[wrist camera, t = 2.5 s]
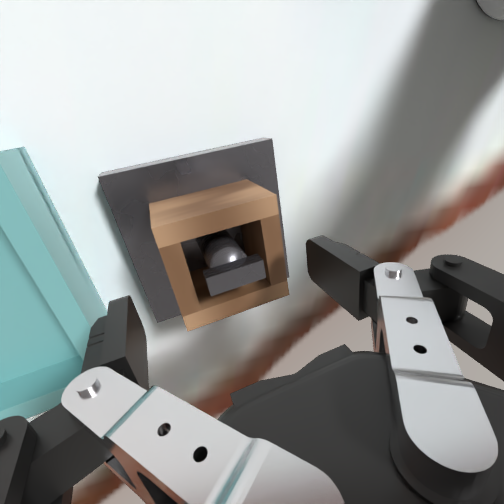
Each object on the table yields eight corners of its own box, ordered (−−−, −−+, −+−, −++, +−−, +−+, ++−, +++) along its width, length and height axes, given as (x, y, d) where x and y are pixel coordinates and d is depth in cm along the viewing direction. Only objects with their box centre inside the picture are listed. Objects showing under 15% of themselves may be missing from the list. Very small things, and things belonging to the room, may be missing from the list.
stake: (263, 137, 19) (325, 144, 12) (280, 268, 23) (332, 322, 17) (101, 172, 16) (75, 203, 10) (156, 310, 21) (162, 391, 14)
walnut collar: (246, 179, 18) (276, 194, 14) (261, 262, 20) (289, 294, 17) (148, 203, 16) (151, 228, 12) (178, 289, 19) (187, 331, 15)
